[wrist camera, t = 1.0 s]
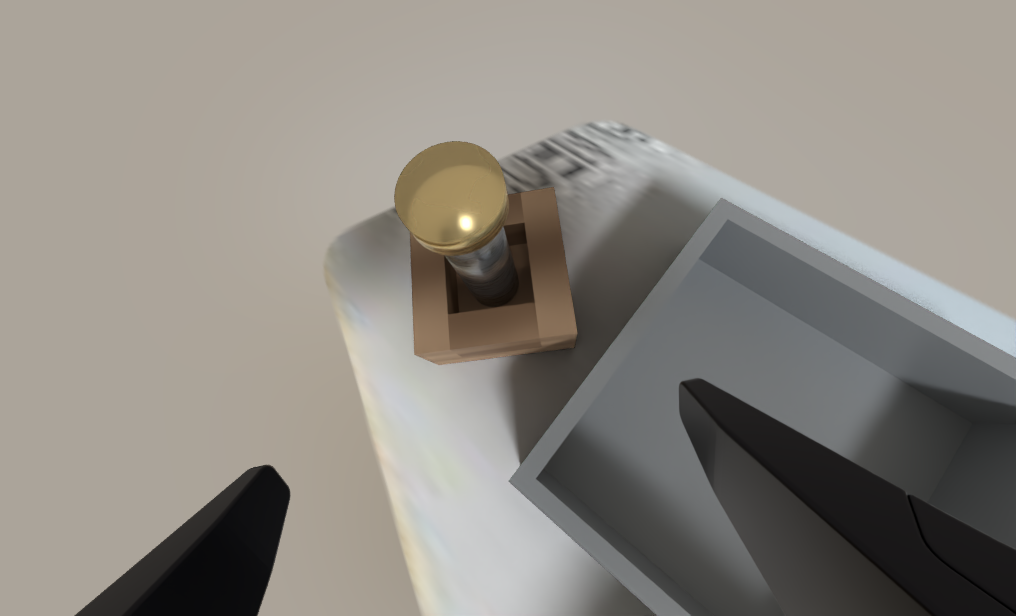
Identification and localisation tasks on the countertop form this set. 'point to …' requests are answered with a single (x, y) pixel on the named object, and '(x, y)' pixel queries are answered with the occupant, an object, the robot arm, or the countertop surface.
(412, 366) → the countertop surface
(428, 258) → the socket block
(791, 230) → the countertop surface
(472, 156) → the pin
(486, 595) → the countertop surface
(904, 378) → the tray
